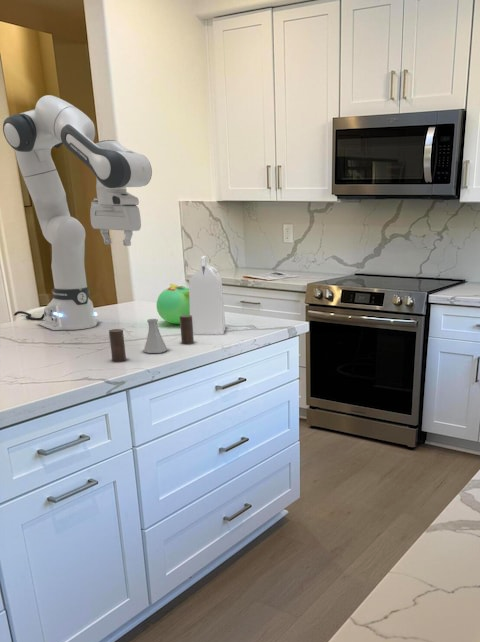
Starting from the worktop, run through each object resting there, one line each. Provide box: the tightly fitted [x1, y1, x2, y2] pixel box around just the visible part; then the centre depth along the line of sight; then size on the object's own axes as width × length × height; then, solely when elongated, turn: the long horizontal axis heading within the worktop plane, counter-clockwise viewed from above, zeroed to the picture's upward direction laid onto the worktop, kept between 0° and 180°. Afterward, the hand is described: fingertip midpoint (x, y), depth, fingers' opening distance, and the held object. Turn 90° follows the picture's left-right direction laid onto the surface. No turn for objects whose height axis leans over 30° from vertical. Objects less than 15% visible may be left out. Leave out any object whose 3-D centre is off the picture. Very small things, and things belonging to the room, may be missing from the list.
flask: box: [143, 318, 168, 354], centre depth 190 cm, size 7×7×10 cm
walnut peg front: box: [108, 328, 127, 363], centre depth 180 cm, size 4×4×9 cm
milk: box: [188, 255, 226, 335], centre depth 216 cm, size 12×12×26 cm
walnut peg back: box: [179, 315, 195, 345], centre depth 202 cm, size 4×4×9 cm
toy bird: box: [156, 283, 190, 325], centre depth 230 cm, size 18×17×15 cm
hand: (117, 244), depth 193 cm, fingers open, 8 cm apart
